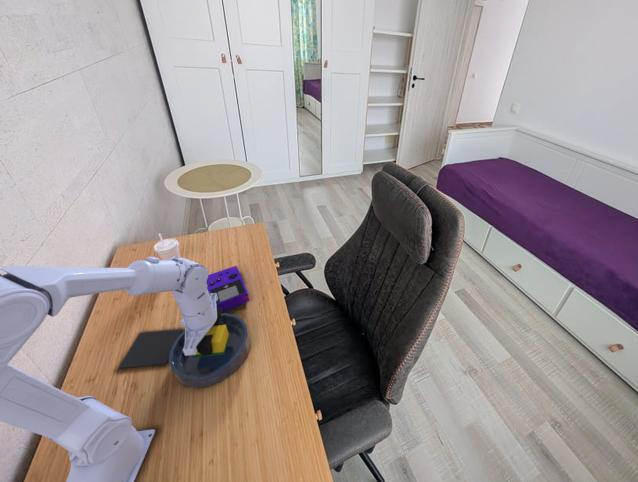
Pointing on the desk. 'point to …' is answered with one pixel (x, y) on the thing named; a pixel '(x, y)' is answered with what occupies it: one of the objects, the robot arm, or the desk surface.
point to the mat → (150, 349)
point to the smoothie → (167, 248)
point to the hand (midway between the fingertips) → (210, 343)
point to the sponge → (217, 340)
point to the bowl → (211, 367)
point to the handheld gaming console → (228, 289)
